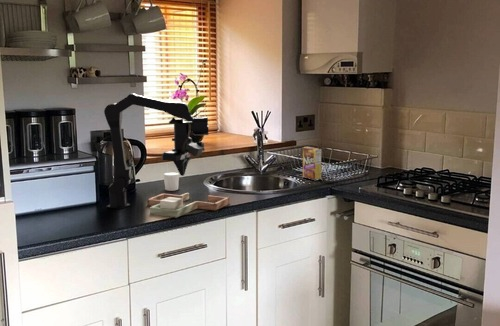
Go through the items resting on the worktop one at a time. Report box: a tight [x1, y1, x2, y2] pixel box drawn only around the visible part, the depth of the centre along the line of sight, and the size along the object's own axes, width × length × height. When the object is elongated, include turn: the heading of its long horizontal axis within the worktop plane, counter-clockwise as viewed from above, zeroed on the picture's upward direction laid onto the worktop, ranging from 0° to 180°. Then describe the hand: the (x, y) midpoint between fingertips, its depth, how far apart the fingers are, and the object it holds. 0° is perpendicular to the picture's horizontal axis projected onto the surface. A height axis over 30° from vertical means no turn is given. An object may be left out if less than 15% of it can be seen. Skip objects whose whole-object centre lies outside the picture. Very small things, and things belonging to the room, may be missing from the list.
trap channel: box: [146, 192, 230, 218], centre depth 216 cm, size 26×28×2 cm
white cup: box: [163, 171, 180, 192], centre depth 247 cm, size 7×7×7 cm
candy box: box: [302, 146, 322, 179], centre depth 264 cm, size 9×4×15 cm, turn 36°
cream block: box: [160, 197, 184, 210], centre depth 210 cm, size 6×6×5 cm
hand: (182, 175), depth 218 cm, fingers closed
